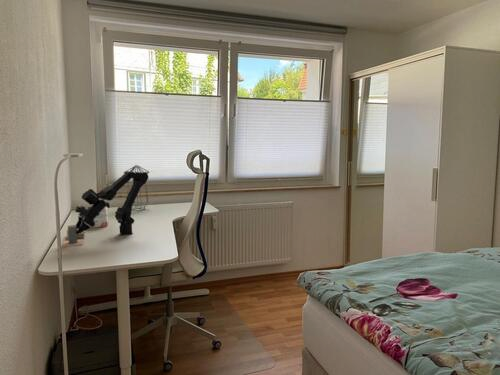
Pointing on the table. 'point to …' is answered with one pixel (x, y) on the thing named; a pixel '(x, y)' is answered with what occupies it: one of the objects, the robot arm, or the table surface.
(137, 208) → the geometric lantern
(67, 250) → the table surface
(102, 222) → the ink cartridge box
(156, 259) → the table surface
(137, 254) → the table surface
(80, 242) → the rubber mat
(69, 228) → the dark gray rectangular block
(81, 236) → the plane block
